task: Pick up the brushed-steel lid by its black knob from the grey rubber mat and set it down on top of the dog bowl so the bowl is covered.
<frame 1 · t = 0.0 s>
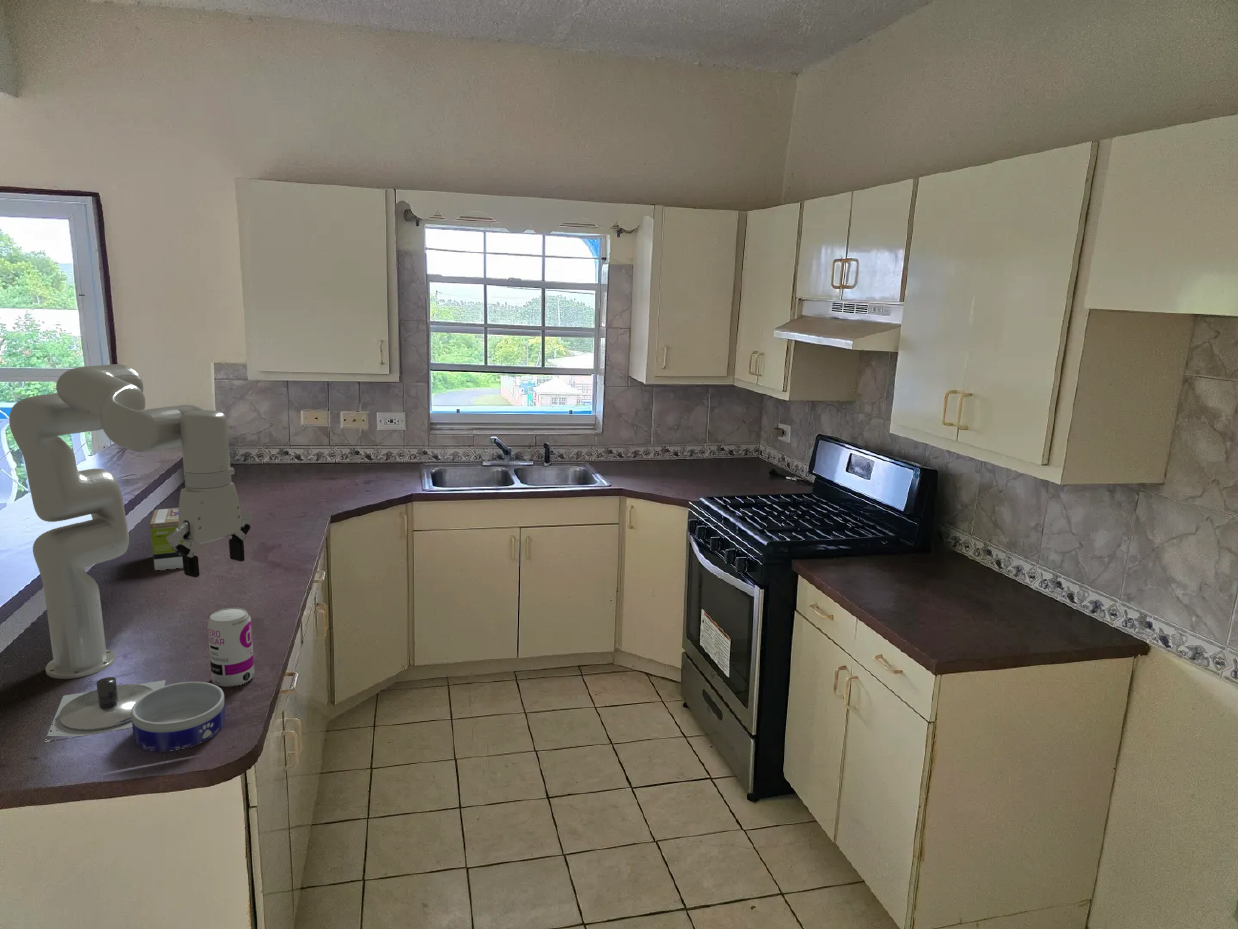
hand: (215, 567, 148), 31 cm above the worktop, tool pointing down, fingers open, 9 cm apart
mat: (109, 710, 156), on the worktop
dog bowl: (180, 731, 150), on the worktop, touching mat
tea box: (175, 562, 237), on the worktop
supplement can: (233, 680, 170), on the worktop
lid: (109, 709, 156), resting on mat
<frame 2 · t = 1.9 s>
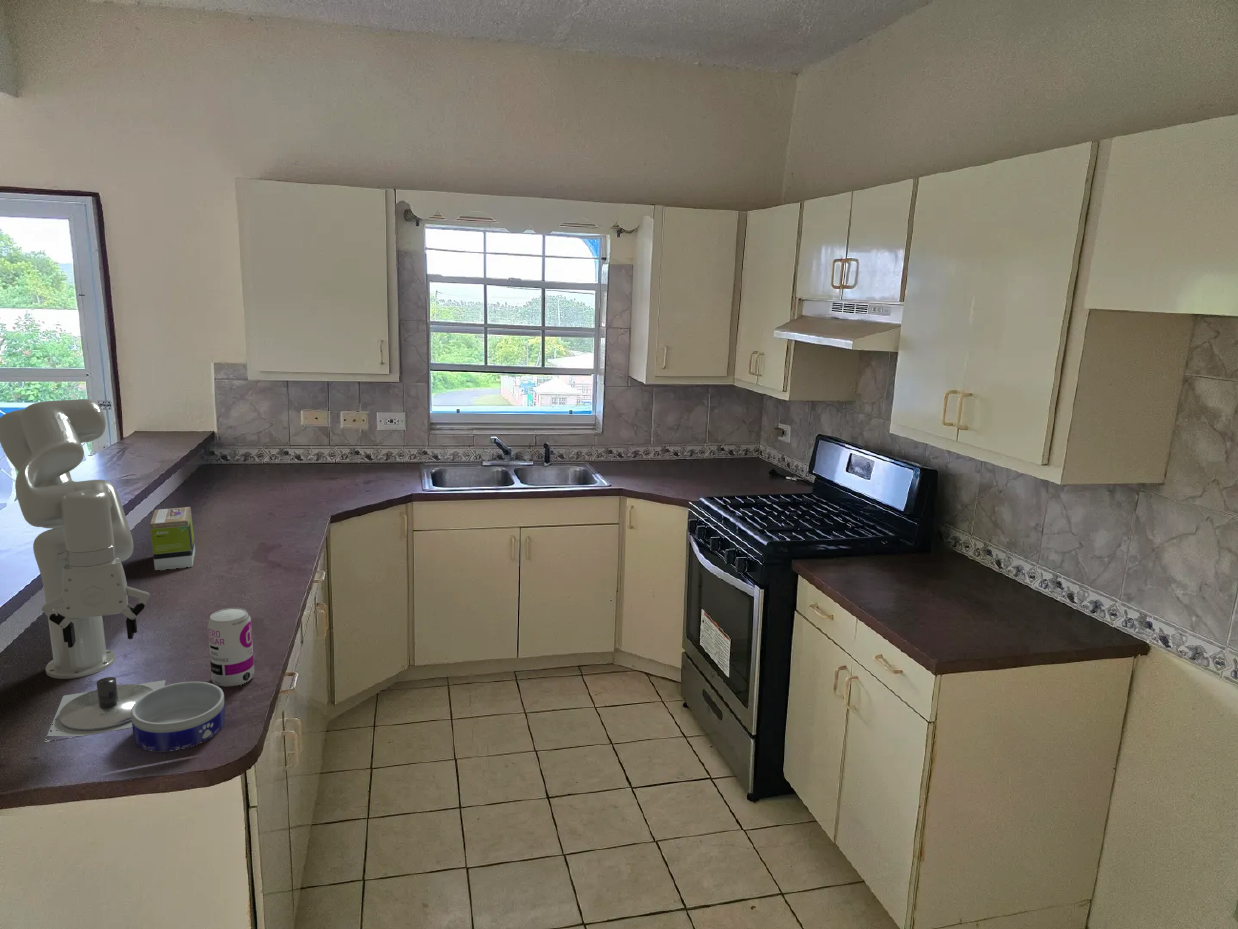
hand: (102, 640, 152), 15 cm above the worktop, tool pointing down, fingers open, 9 cm apart
nothing on the worktop moved.
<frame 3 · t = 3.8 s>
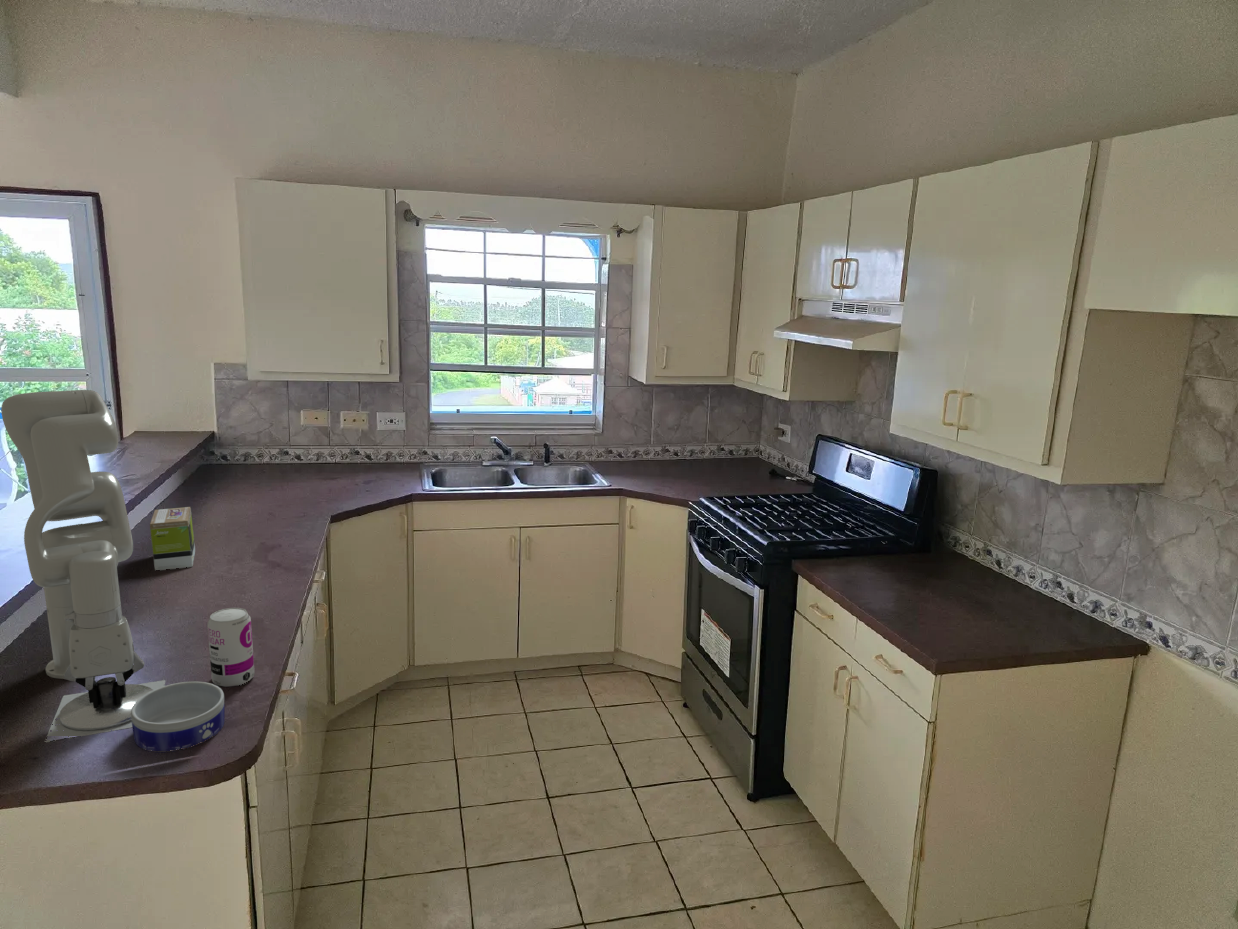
hand: (108, 702, 155), 2 cm above the worktop, tool pointing down, fingers closed on lid, 3 cm apart
lid: (109, 709, 156), resting on mat, touching gripper
everything else where it was.
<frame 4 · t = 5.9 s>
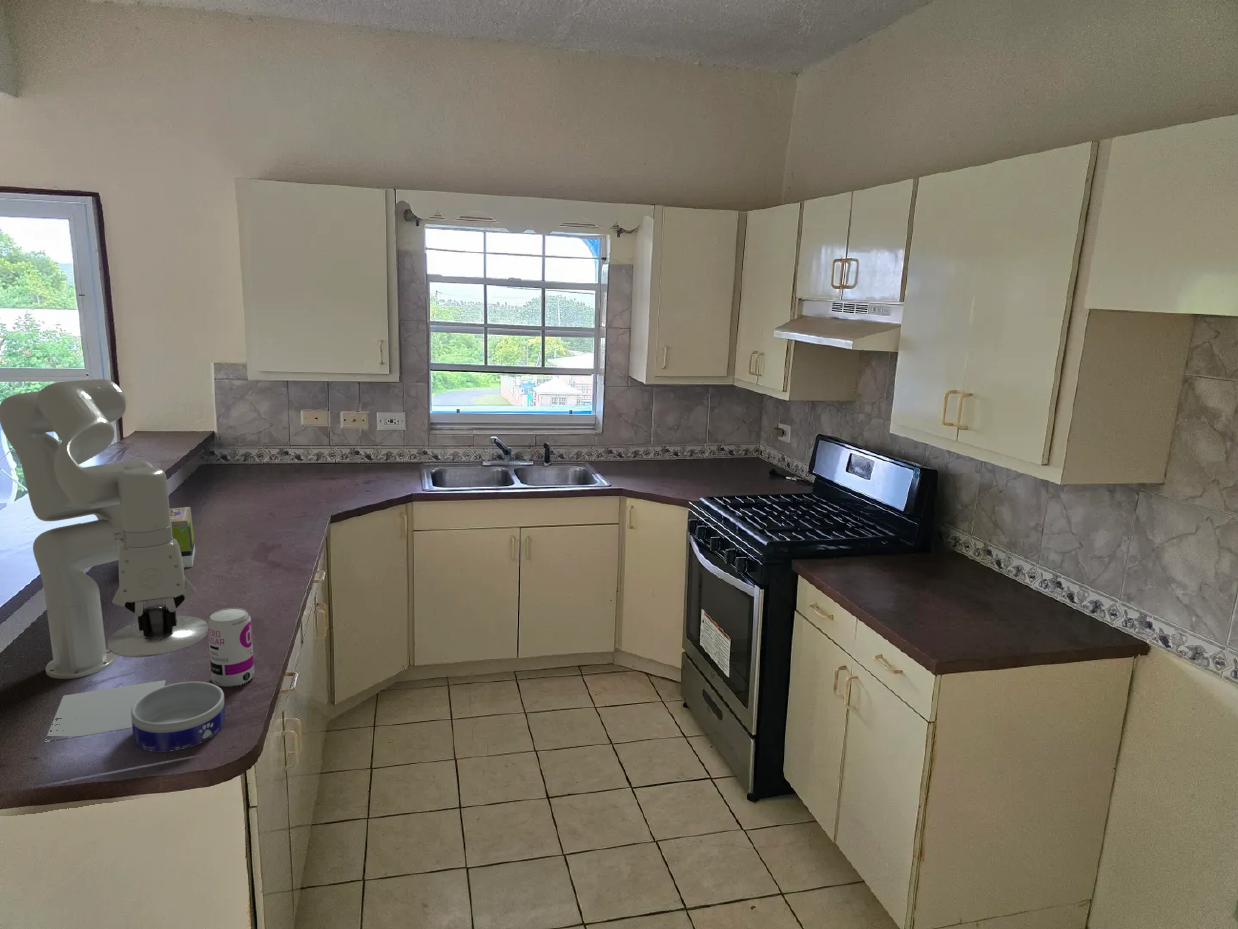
hand: (158, 630, 146), 20 cm above the worktop, tool pointing down, fingers closed on lid, 3 cm apart
lid: (159, 638, 146), point 19 cm above the worktop, touching gripper
everything else where it was.
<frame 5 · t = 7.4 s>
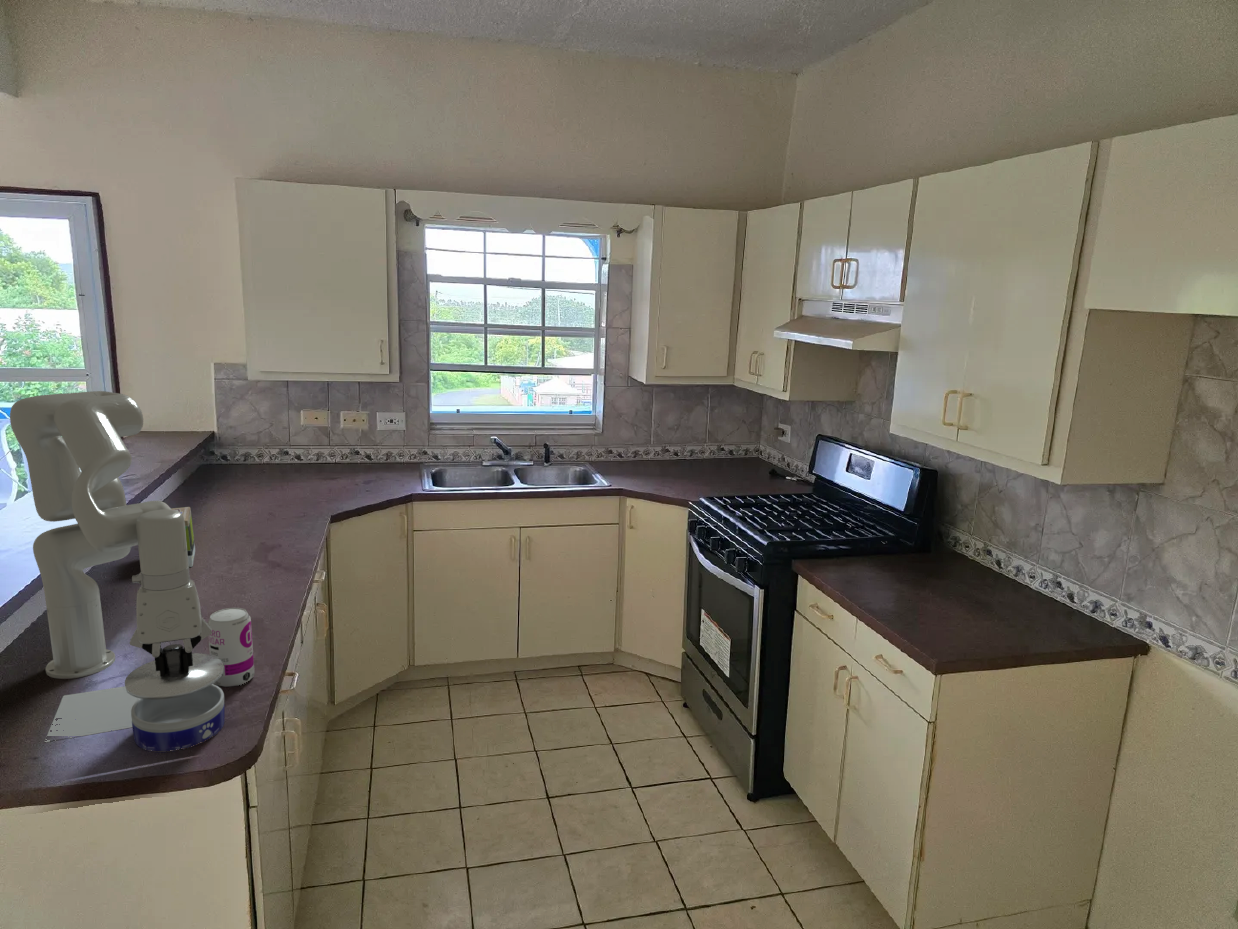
hand: (175, 670, 147), 13 cm above the worktop, tool pointing down, fingers closed on lid, 3 cm apart
lid: (175, 677, 147), point 11 cm above the worktop, touching gripper
everything else where it was.
when the fingers open (9 cm above the worktop, at t = 8.3 s): lid drops 1 cm, resting on dog bowl.
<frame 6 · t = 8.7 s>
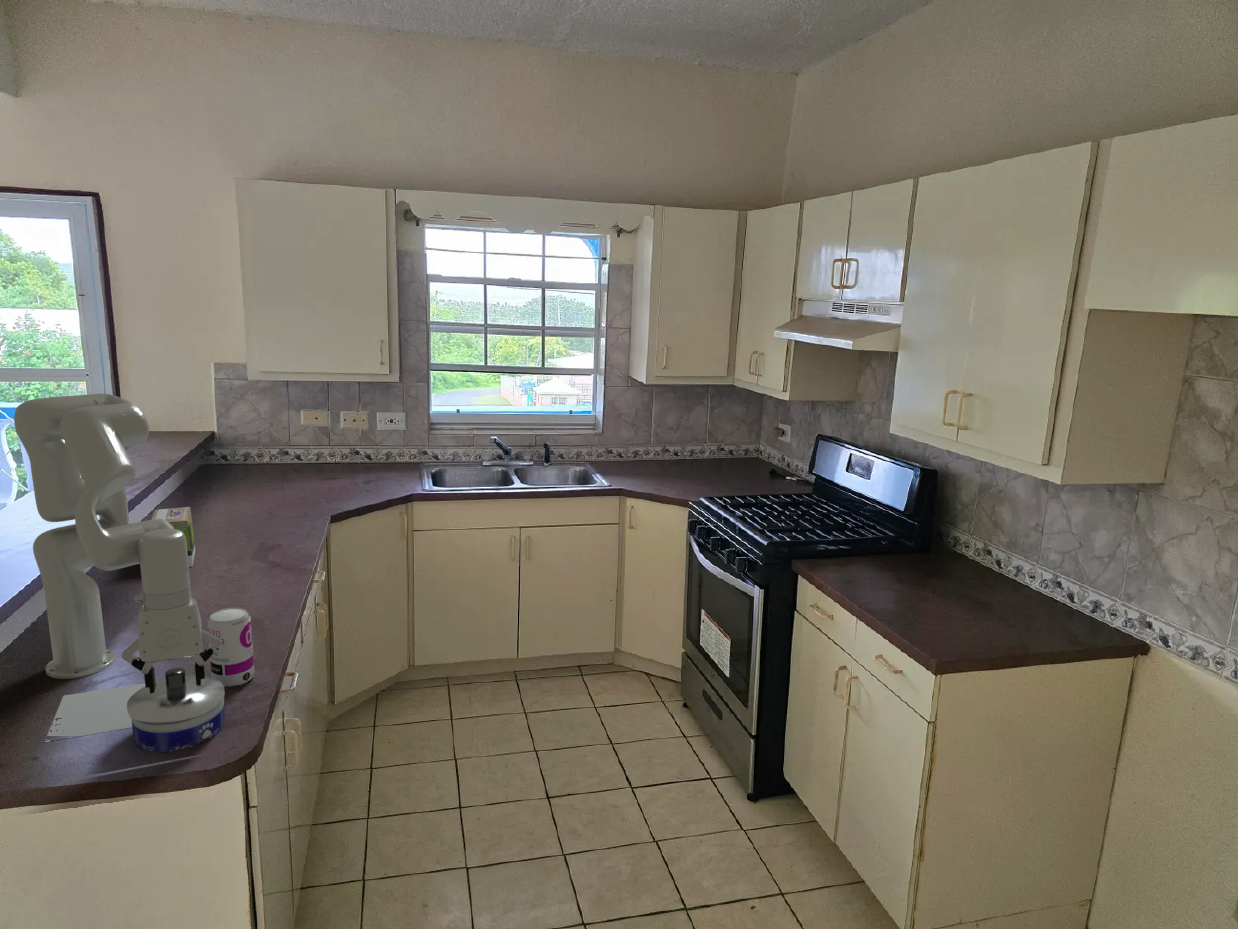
hand: (176, 685, 148), 9 cm above the worktop, tool pointing down, fingers open, 7 cm apart
dog bowl: (180, 731, 150), on the worktop, touching lid, mat
lid: (177, 701, 149), point 6 cm above the worktop, touching dog bowl
everything else where it was.
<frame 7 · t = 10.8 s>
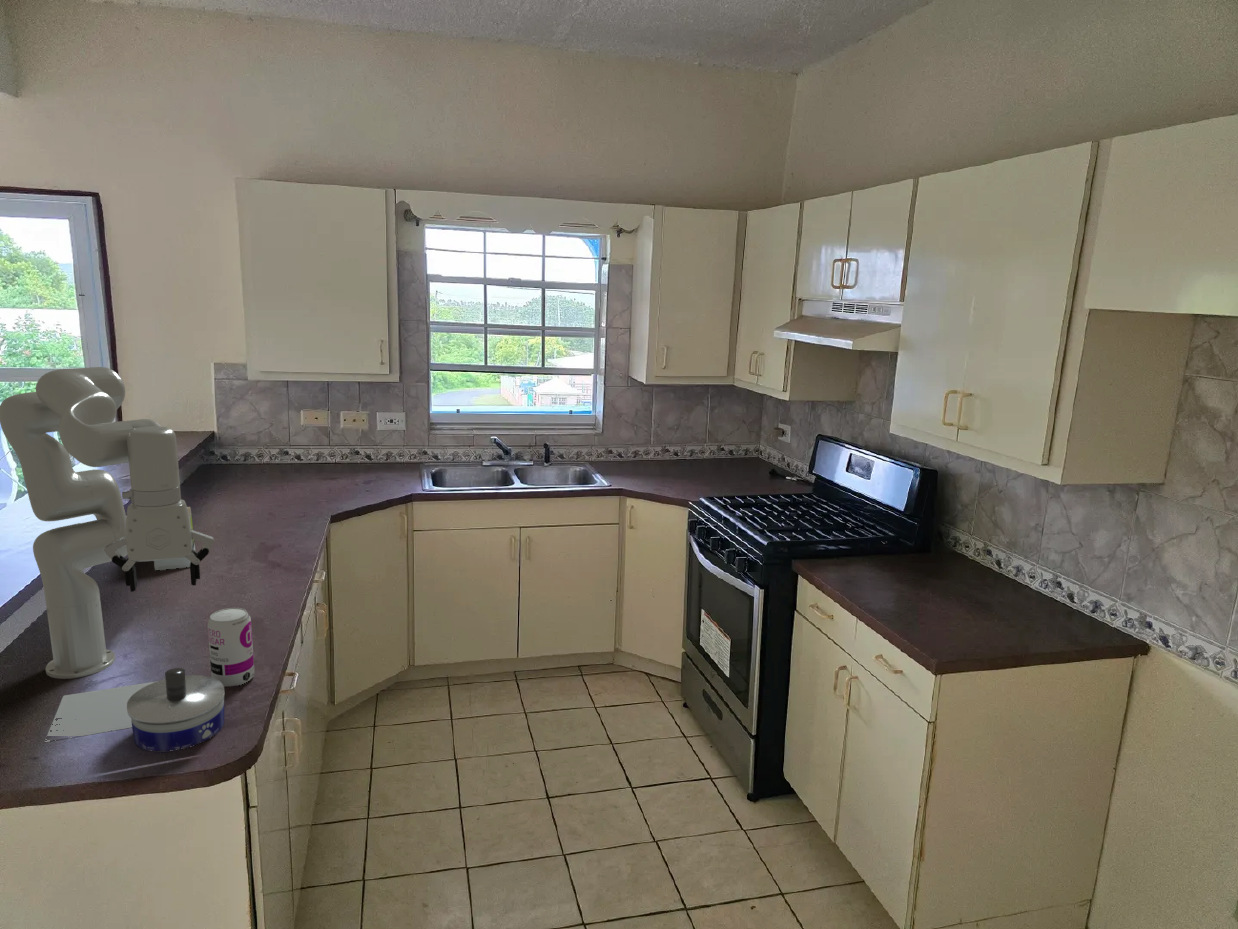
hand: (164, 585, 145), 29 cm above the worktop, tool pointing down, fingers open, 9 cm apart
nothing on the worktop moved.
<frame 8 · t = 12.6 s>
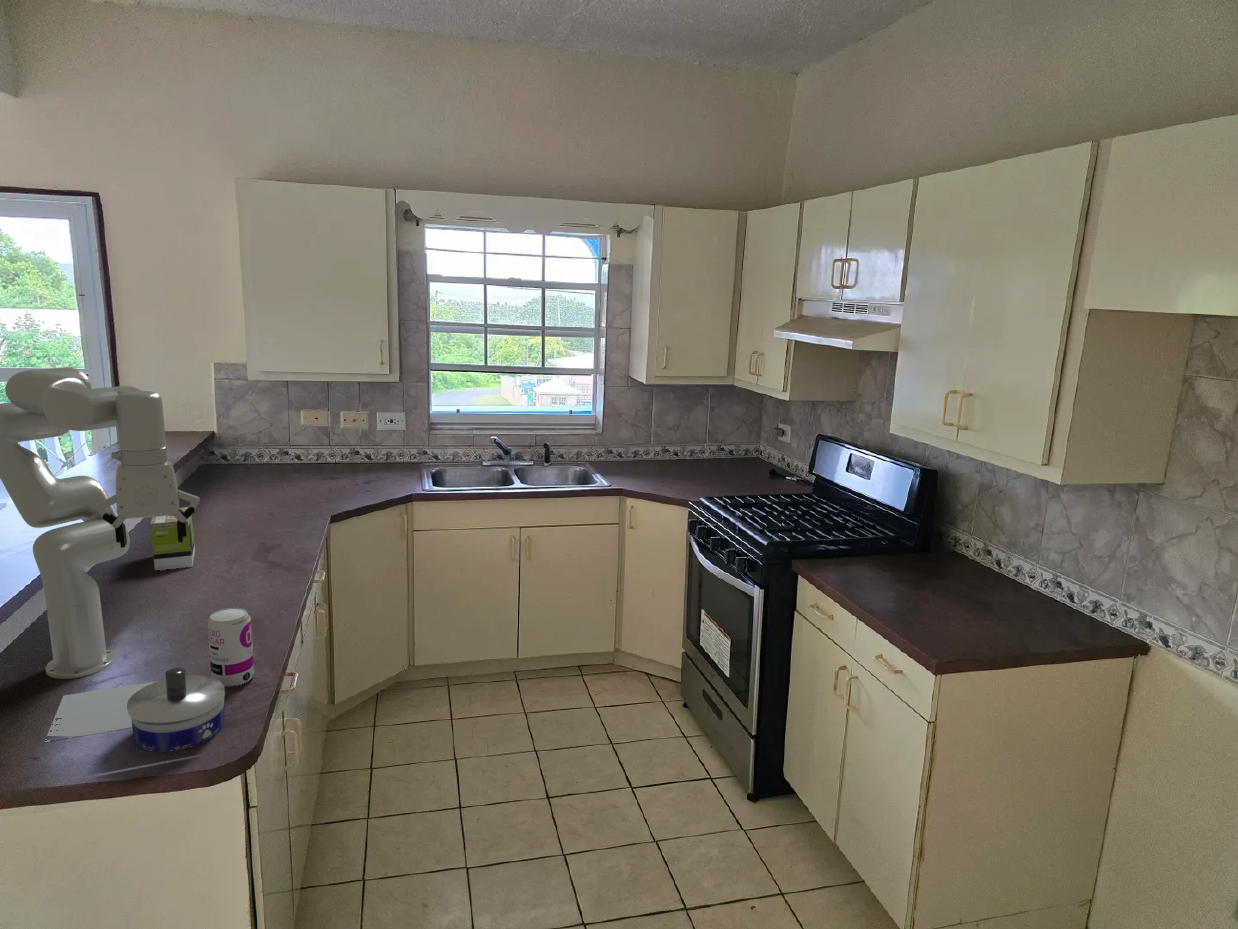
hand: (152, 542, 154), 33 cm above the worktop, tool pointing down, fingers open, 9 cm apart
nothing on the worktop moved.
at the end: lid inside the target area on the dog bowl (0.0 cm from its centre), point 6.2 cm above the dog bowl's base; lid tilted 2°; the gripper is holding nothing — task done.
